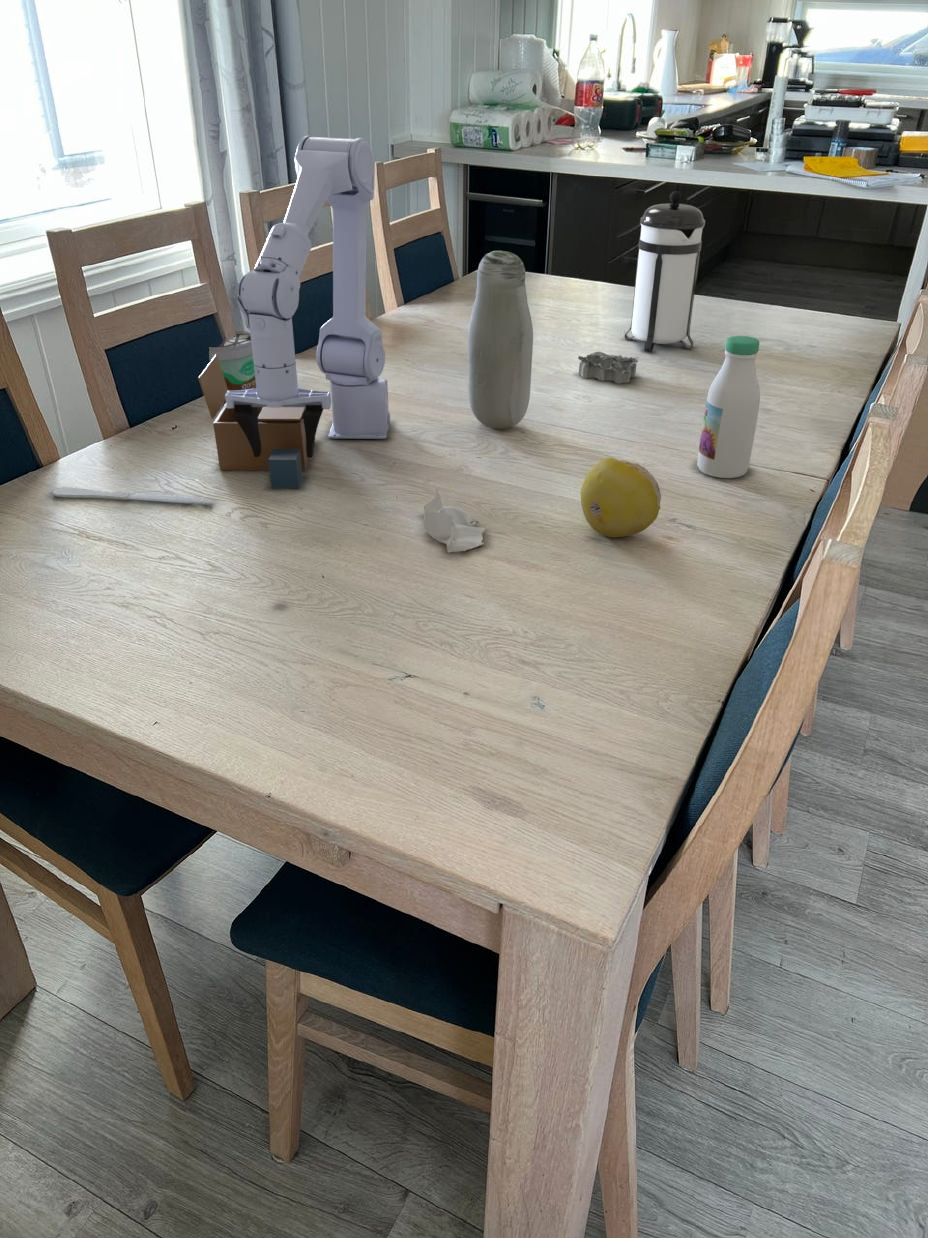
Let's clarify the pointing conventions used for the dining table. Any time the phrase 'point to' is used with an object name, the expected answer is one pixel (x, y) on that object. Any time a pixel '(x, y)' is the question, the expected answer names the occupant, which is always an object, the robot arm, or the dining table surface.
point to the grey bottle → (500, 342)
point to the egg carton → (608, 367)
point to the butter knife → (127, 496)
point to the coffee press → (666, 273)
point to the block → (285, 468)
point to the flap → (213, 386)
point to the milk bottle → (731, 412)
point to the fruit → (619, 498)
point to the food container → (236, 361)
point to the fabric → (451, 526)
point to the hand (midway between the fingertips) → (284, 454)
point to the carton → (275, 433)
